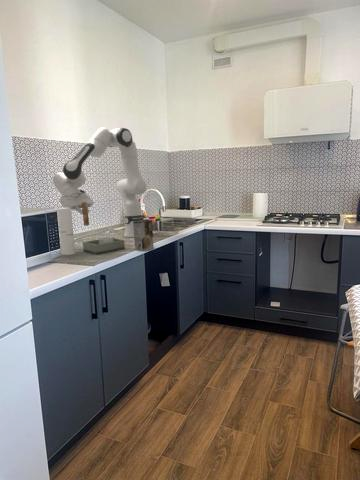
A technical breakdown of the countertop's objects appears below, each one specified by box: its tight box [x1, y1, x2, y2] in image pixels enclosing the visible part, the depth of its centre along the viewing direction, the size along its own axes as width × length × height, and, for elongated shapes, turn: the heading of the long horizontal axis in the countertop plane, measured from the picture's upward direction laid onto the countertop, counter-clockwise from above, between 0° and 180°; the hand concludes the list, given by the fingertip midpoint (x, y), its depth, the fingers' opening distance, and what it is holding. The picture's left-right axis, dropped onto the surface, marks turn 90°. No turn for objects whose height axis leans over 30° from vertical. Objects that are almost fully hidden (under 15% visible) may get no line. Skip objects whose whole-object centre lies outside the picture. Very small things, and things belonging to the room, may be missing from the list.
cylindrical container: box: [56, 207, 76, 256], centre depth 195 cm, size 7×7×25 cm
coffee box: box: [133, 219, 155, 252], centre depth 200 cm, size 9×6×16 cm
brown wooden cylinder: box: [81, 202, 90, 226], centre depth 206 cm, size 3×3×13 cm
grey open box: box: [82, 236, 125, 255], centre depth 204 cm, size 18×15×7 cm
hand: (85, 212), depth 206 cm, fingers closed on brown wooden cylinder, 3 cm apart
